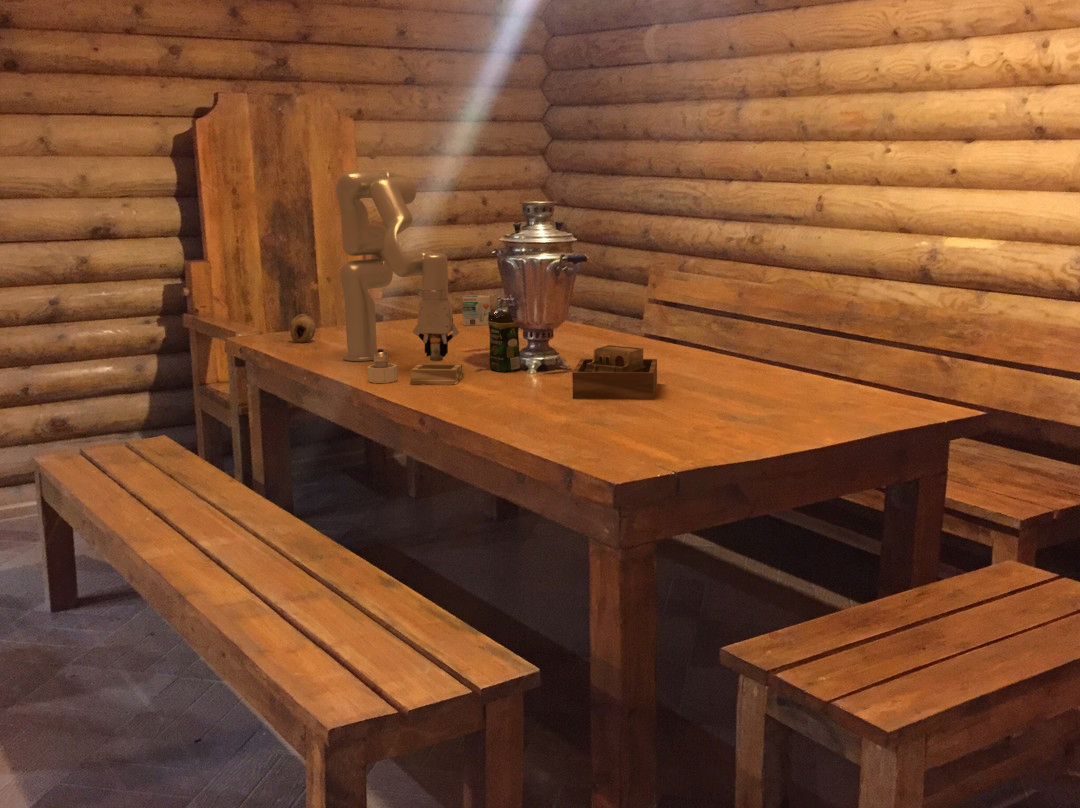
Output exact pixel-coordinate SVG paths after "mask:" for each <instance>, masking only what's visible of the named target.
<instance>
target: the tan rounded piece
mask: <svg viewBox="0 0 1080 808" xmlns="http://www.w3.org/2000/svg"><path fill="white" fill-rule="evenodd" d="M290 324H291V325H290V328H289V331H290V336H291V340H292V341H294V342H296V343H302V344H303V343H309V342H311V340H312V339H313V338H314V337H315V334H316V328H317V327H316V323H315V322H314V320H313V319H312V316H310V315H307V314H306V313H301V314H298V315H296V316H295V317H293V319H292V320H291V322H290Z"/></svg>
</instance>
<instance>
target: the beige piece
mask: <svg viewBox="0 0 1080 808" xmlns="http://www.w3.org/2000/svg"><path fill="white" fill-rule="evenodd" d="M397 379H398V365H397V364H394V363H388V368H374V363H373V364H370V365H368V366H367V381H368V382H369V381H370V382H373V383H372V384H376V383H384V384H390V383H389V382H392V383H395V382H397V381H398V380H397ZM396 380H397V381H396ZM394 381H395V382H394ZM370 382H369V383H370Z"/></svg>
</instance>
